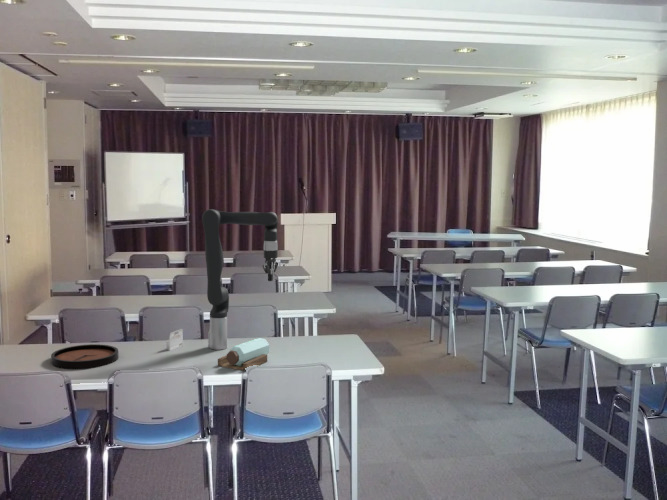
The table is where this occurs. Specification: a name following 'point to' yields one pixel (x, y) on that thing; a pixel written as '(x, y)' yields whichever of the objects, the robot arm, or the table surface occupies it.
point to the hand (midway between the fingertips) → (270, 280)
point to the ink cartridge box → (175, 340)
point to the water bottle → (247, 351)
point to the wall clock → (84, 356)
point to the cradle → (255, 361)
